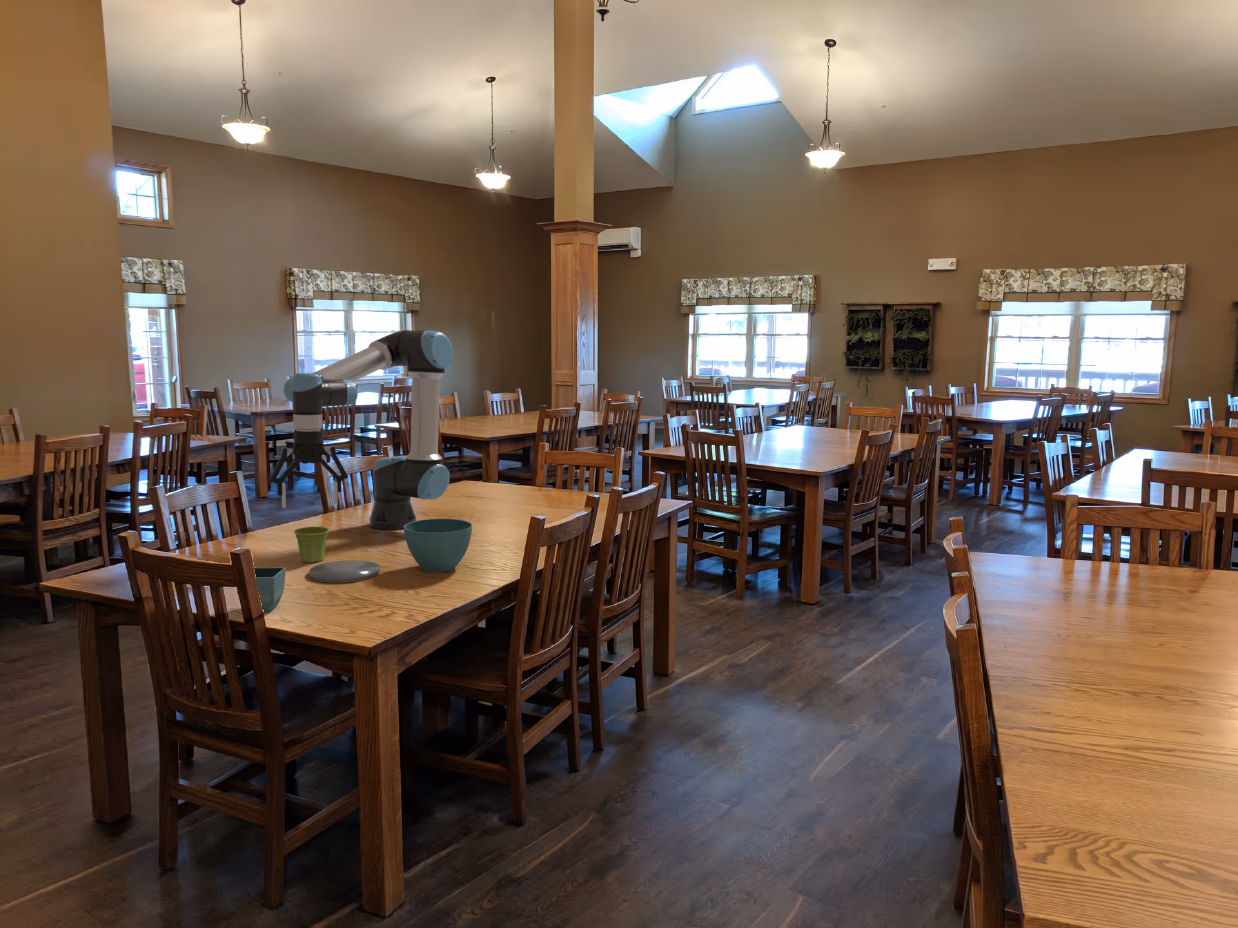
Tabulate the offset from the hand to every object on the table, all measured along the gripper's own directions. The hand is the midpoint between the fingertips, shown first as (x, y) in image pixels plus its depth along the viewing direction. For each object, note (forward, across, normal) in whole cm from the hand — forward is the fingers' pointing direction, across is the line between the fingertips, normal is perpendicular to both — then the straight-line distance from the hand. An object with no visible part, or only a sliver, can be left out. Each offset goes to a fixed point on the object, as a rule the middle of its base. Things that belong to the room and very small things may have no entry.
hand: (310, 505), depth 232 cm
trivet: (+16, -6, +17) cm, 24 cm away
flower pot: (+16, +16, +40) cm, 46 cm away
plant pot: (+16, 0, 0) cm, 16 cm away
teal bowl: (+16, -30, +22) cm, 41 cm away
